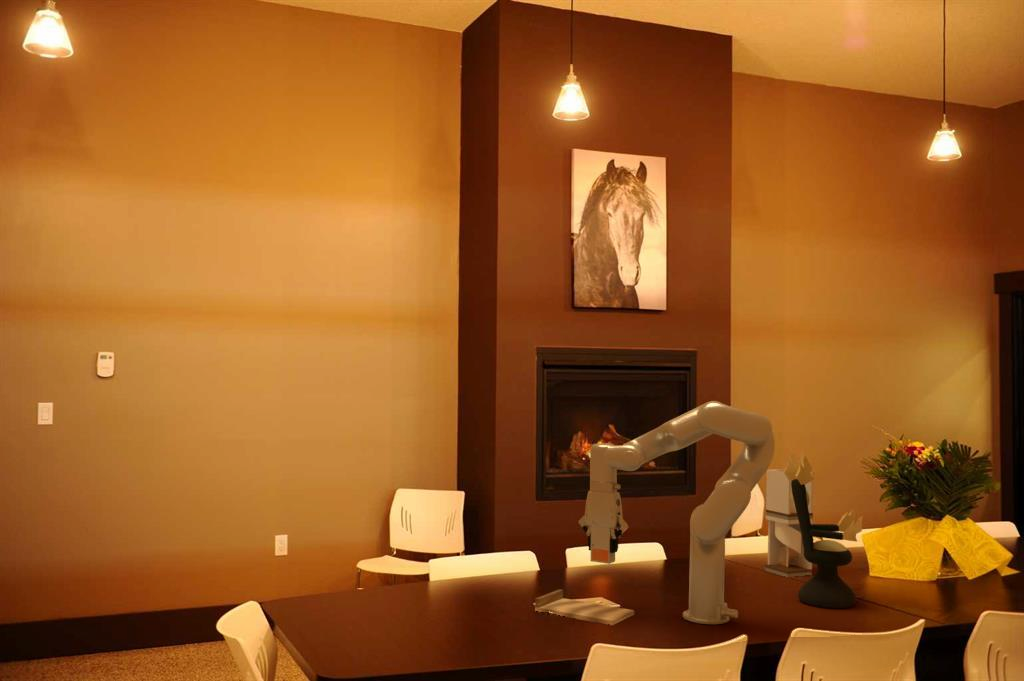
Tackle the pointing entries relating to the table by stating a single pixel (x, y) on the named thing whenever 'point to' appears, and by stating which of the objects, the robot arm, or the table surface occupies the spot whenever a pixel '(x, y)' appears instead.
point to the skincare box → (601, 544)
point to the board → (580, 609)
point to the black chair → (822, 544)
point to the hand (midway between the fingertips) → (603, 550)
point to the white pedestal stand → (785, 527)
